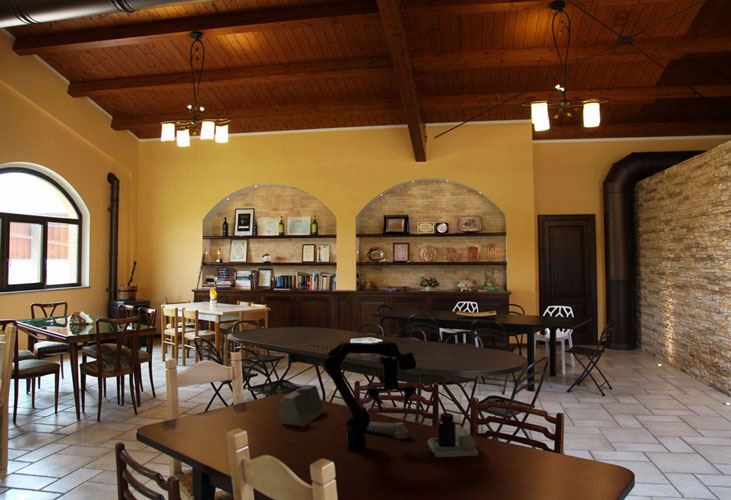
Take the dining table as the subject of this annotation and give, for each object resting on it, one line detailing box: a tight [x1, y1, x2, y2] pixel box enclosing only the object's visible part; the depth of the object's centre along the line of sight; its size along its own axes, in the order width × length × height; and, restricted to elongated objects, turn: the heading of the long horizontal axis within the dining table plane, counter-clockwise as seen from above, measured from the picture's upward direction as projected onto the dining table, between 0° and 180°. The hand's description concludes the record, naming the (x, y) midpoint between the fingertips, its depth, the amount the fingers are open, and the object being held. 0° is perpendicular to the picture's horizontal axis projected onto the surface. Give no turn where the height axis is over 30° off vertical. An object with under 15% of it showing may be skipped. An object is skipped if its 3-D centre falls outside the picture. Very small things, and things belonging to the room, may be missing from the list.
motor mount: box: [427, 426, 479, 458], centre depth 200 cm, size 16×14×6 cm
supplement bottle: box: [437, 412, 457, 447], centre depth 200 cm, size 7×7×12 cm
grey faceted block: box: [278, 384, 325, 427], centre depth 240 cm, size 25×16×12 cm, turn 161°
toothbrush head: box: [366, 421, 409, 440], centre depth 217 cm, size 5×7×25 cm
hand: (392, 411), depth 207 cm, fingers open, 9 cm apart
